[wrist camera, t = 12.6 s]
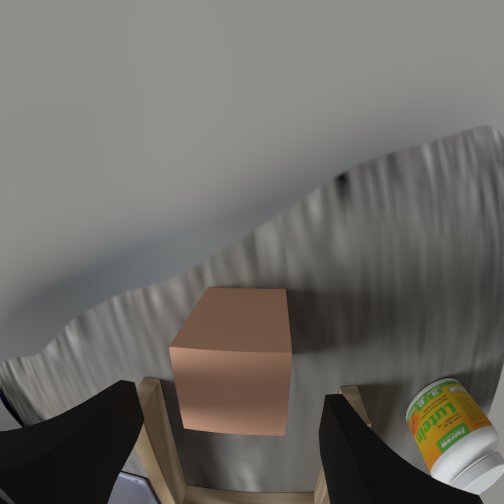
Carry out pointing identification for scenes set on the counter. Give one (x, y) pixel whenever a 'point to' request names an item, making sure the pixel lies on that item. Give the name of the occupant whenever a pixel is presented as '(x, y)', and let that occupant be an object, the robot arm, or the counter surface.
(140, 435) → the wooden u-shaped frame
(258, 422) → the block
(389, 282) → the counter surface
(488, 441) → the supplement bottle
